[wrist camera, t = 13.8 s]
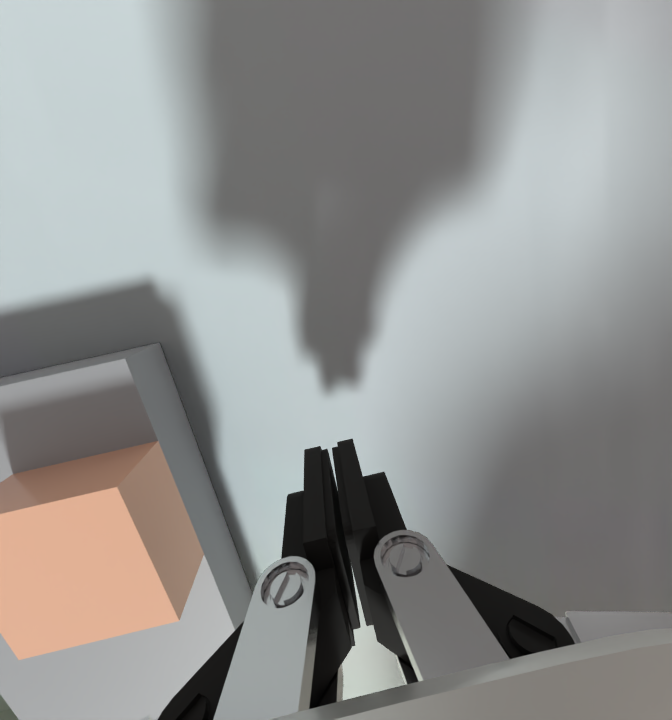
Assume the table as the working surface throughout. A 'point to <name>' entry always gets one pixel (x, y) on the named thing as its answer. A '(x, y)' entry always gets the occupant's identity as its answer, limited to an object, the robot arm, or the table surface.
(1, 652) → the deck
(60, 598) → the tile
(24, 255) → the table surface
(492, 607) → the robot arm
